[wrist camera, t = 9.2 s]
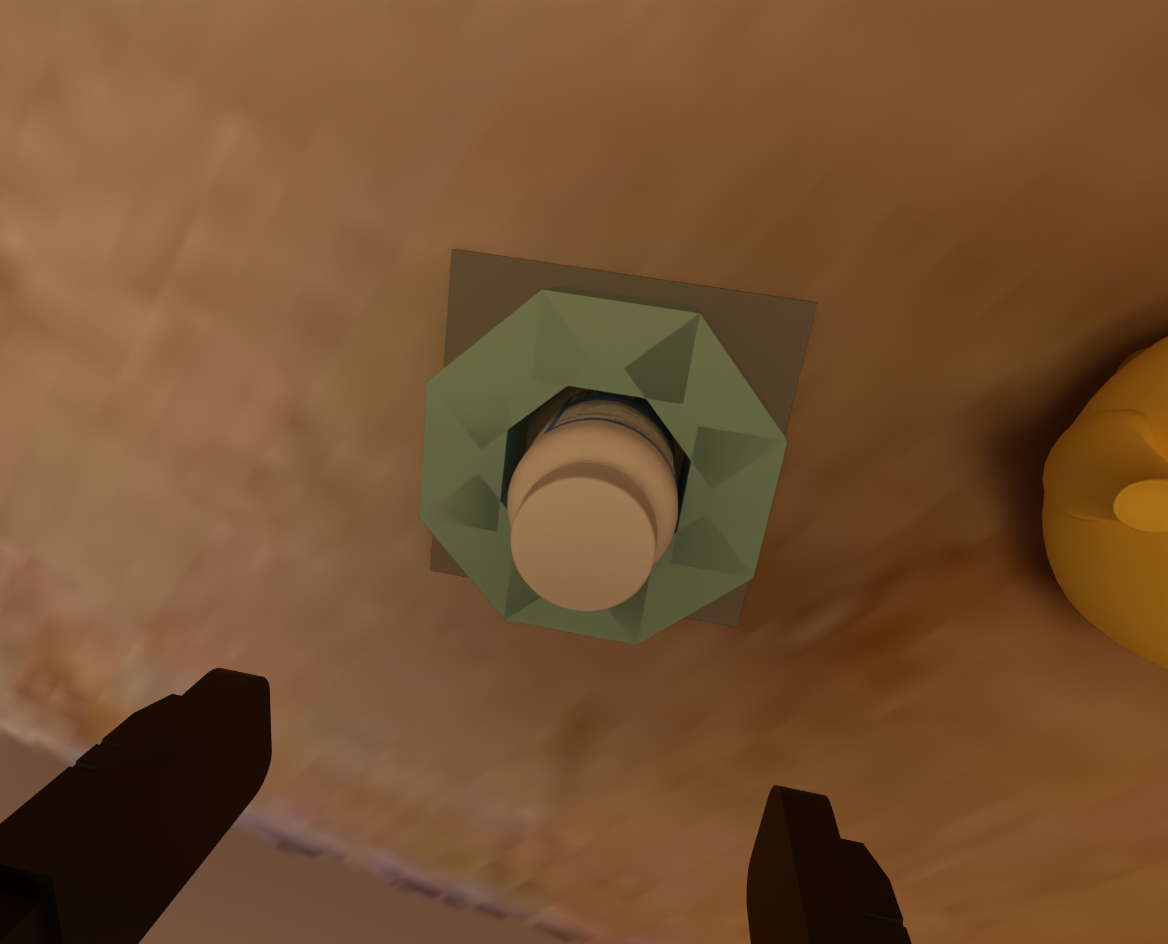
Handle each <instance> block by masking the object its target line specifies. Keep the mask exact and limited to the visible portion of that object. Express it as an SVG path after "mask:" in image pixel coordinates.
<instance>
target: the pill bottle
mask: <svg viewBox="0 0 1168 944" xmlns="http://www.w3.org/2000/svg"><path fill="white" fill-rule="evenodd" d="M507 510H508V518H509V522H510V526H511V529H512V530H511V551H512V555H513V559H514V562H515V565H516V567H517V569H518V571H519V573H520V575H521V576H522V578H523V579H524V581H525V582H526V583H527V584H528V585H529V587H531V589H532V590H534V591H535V592H536V593H537V594H538V595H540V596H541V597H542V598H544V599H545V600H547V601H549V602H551V603H553V604H555V605H558V606H560V607H563V608H567V609H571V610H578V611H597V610H603V609H607V608H610V607H613V606H615V605H618V604H620V603H622V602H624V601H625V600H627V599H628V598H630V597H631V596H632V595H634V594H635V593H636V592H637V591H638V590H639V589H640V587H641V586H642V585H643V584H644V582H645V581H646V579H647V578H648V576H649V574H650V572H651V570H652V567H653V565H654V564H655V563H656V562H657V561H658V560H659V559H660V558H661V557H662V555H663V554H664V552H665V551H666V549H667V548H668V546H669V544H670V542H671V540H672V537H673V534H674V531H675V528H676V524H677V518H678V492H677V482H676V471H675V458H674V446H673V440H672V436H671V433H670V431H669V430H668V428H667V427H666V425H665V424H664V423H663V421H662V420H661V419H660V417H659V416H658V414H657V413H656V412H655V410H654V409H653V408H652V406H651V405H650V403H649V402H648V401H647V400H646V399H644V398H641V397H634V396H628V395H622V394H616V393H610V392H604V391H597V390H591V389H589V390H586V391H583V392H580V393H578V394H576V395H574V396H572V397H571V398H569V399H568V400H566V401H565V402H564V403H563V404H562V405H561V406H560V407H559V408H558V409H557V410H556V411H555V412H554V414H553V415H552V416H551V417H550V419H549V420H548V422H547V423H546V425H545V426H544V428H543V429H542V431H541V432H540V433H539V435H538V436H537V438H536V439H535V441H534V442H533V444H532V445H531V447H530V448H529V449H528V451H527V452H526V453H525V455H524V456H523V458H522V459H521V461H520V462H519V464H518V466H517V467H516V469H515V471H514V474H513V476H512V479H511V482H510V486H509V490H508V499H507Z"/></svg>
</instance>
